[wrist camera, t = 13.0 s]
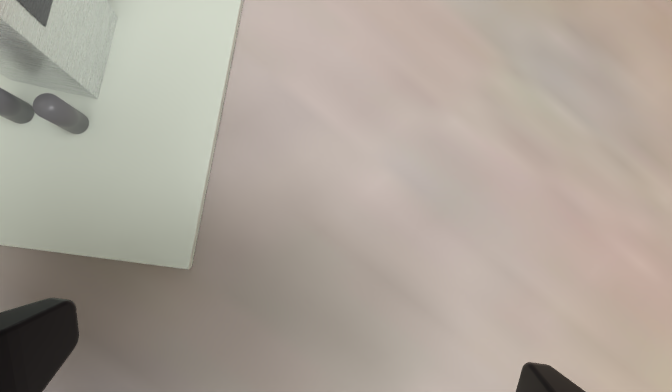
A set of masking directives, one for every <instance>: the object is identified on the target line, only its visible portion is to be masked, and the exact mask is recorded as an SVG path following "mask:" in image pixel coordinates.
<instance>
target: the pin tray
mask: <svg viewBox="0 0 672 392" xmlns="http://www.w3.org/2000/svg"><path fill="white" fill-rule="evenodd" d="M107 1H108V3H109V4H110V6H111V8H112V9H113V11H114V12H115V14H116V15H117V17H118V19H117V23H116V28H115V32H114V36H113V40H112V44H111V48H110V52H109V56H108V61H107V65H106V69H105V73H104V77H103V81H102V85H101V89H100V93H99V98H98V99H96V98H91V97H87V96H82V95H77V94H73V93H68V92H63V91H58V90H54V89H49V88H44V87H39V86H35V85H30V84H25V83H20V82H16V81H11V80H10V79H8V78H6V77H5V76H3V75H1V74H0V245H3V246H11V247H19V248H27V249H34V250H42V251H50V252H57V253H65V254H73V255H81V256H88V257H96V258H104V259H111V260H119V261H127V262H135V263H142V264H150V265H158V266H165V267H173V268H181V269H190V268H191V267H192V263H193V258H194V253H195V248H196V242H197V237H198V232H199V227H200V222H201V217H202V212H203V207H204V201H205V196H206V191H207V186H208V181H209V176H210V171H211V166H212V160H213V155H214V150H215V145H216V140H217V135H218V130H219V124H220V119H221V114H222V109H223V104H224V99H225V94H226V89H227V83H228V78H229V73H230V68H231V63H232V58H233V53H234V48H235V42H236V37H237V32H238V27H239V22H240V17H241V12H242V6H243V1H244V0H107Z"/></svg>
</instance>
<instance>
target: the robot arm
mask: <svg viewBox="0 0 672 392" xmlns="http://www.w3.org/2000/svg"><path fill="white" fill-rule="evenodd" d="M78 338H79V330H78V321H77V313H76V306H75V304H74V302H72V301H71V300H66V299H59V298H49V299H45V300H42V301H38V302H35V303H32V304H28V305H25V306H21V307H18V308H15V309H11V310H8V311H4V312H1V313H0V392H42V391H43V390H44V389H45V387H46V386H47V385H48V383H49V382H50V381H51V379H52V378H53V376H54V375H55V374H56V372H57V371H58V370H59V368H60V367H61V366H62V364H63V363H64V362H65V360H66V359H67V357H68V356H69V355H70V353H71V352H72V351H73V349H74V348H75V346H76V344H77V342H78ZM516 392H585V391H584V390H582V389H581V388H580V387H578V386H577V385H576V384H574V383H573V382H571V381H570V380H569V379H567V378H566V377H565V376H563V375H562V374H561V373H559V372H558V371H557V370H555V369H554V368H552V367H551V366H549V365H546V364H539V363H531V362H528V363H526V364H525V365H524V366H523V368H522V371H521V375H520V379H519V382H518V386H517V389H516Z"/></svg>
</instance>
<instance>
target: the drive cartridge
mask: <svg viewBox="0 0 672 392" xmlns="http://www.w3.org/2000/svg"><path fill="white" fill-rule="evenodd" d="M117 19H118V17H117V15H116V14H115V12H114V11H113V9H112V8H111V6H110V4H109V3H108V1H107V0H0V74H1V75H3V76H5V77H6V78H8V79H10V80H11V81H16V82H20V83H25V84H30V85H35V86H39V87H44V88H49V89H54V90H58V91H63V92H68V93H73V94H77V95H82V96H87V97H91V98H96V99H98V98H99V93H100V89H101V85H102V81H103V77H104V73H105V69H106V65H107V61H108V56H109V52H110V48H111V44H112V40H113V36H114V32H115V28H116V23H117Z"/></svg>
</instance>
